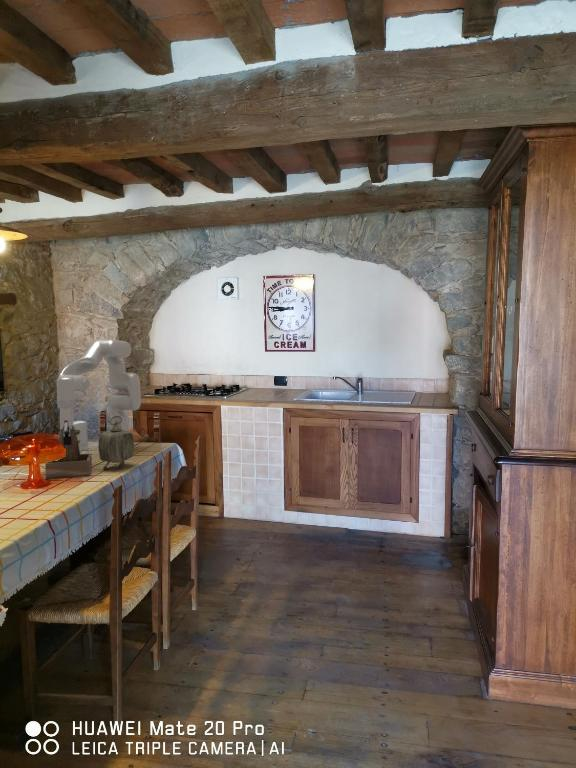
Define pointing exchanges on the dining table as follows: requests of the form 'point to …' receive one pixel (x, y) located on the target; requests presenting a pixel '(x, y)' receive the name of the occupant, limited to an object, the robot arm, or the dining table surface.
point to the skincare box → (82, 433)
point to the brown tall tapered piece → (70, 447)
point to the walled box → (69, 468)
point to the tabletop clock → (116, 445)
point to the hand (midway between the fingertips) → (68, 443)
